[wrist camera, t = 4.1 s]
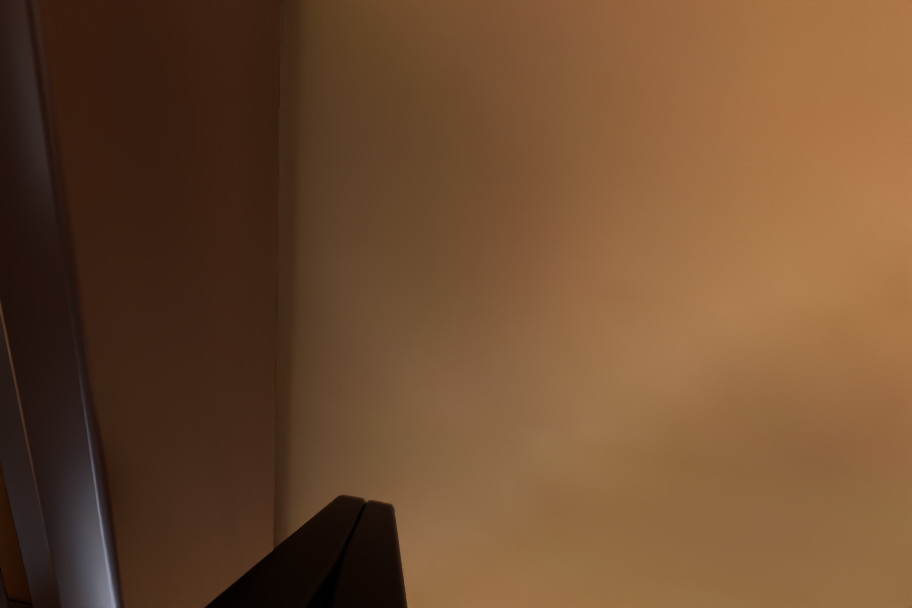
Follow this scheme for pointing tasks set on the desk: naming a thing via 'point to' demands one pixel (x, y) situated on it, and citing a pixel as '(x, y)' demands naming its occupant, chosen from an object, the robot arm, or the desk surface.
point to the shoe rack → (138, 295)
